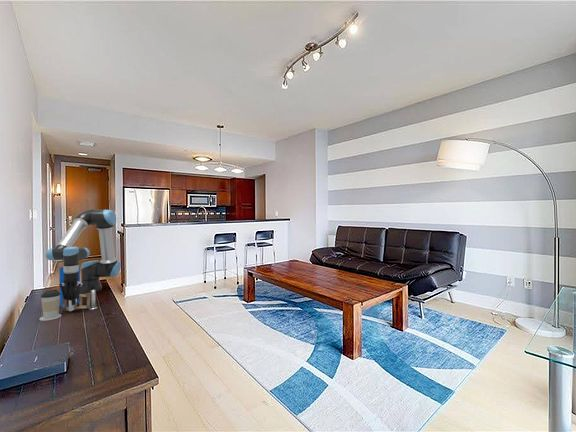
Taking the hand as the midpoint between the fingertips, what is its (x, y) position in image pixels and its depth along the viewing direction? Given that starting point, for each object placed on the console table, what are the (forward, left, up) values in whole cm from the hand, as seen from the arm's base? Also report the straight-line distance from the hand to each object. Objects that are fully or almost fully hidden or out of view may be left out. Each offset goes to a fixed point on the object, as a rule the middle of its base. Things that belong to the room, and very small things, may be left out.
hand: (71, 310), depth 176 cm
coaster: (+8, -6, -2) cm, 10 cm away
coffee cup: (+8, -6, -1) cm, 10 cm away
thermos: (-15, -11, -2) cm, 19 cm away
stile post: (-8, -3, -2) cm, 9 cm away
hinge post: (-7, +9, -2) cm, 11 cm away
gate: (-4, +1, -1) cm, 4 cm away
